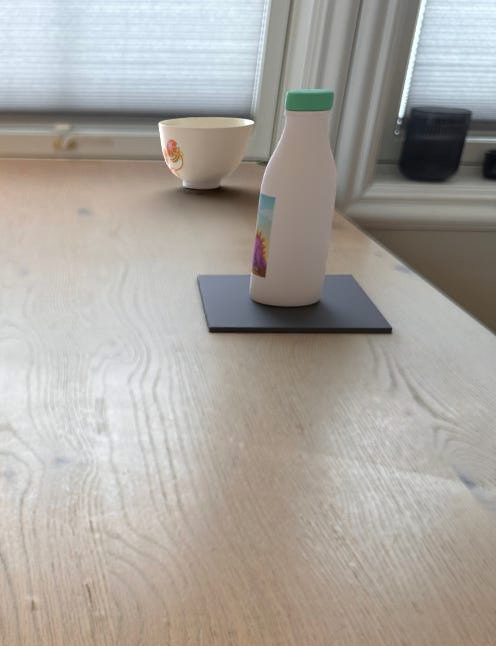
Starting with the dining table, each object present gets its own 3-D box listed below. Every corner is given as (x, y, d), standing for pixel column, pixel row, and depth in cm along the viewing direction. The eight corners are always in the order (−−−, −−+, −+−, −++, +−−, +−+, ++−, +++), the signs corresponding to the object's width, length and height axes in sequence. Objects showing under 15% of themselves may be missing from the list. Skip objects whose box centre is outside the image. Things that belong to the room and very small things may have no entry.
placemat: (391, 332, 97) (392, 327, 97) (208, 331, 99) (209, 327, 99) (350, 278, 116) (351, 274, 115) (196, 278, 117) (197, 274, 117)
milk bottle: (330, 295, 108) (361, 87, 97) (307, 312, 102) (337, 94, 91) (263, 287, 111) (285, 86, 100) (237, 303, 106) (258, 92, 95)
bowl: (146, 181, 178) (149, 119, 172) (232, 177, 179) (237, 115, 173) (167, 196, 164) (171, 129, 159) (260, 191, 166) (266, 125, 160)
